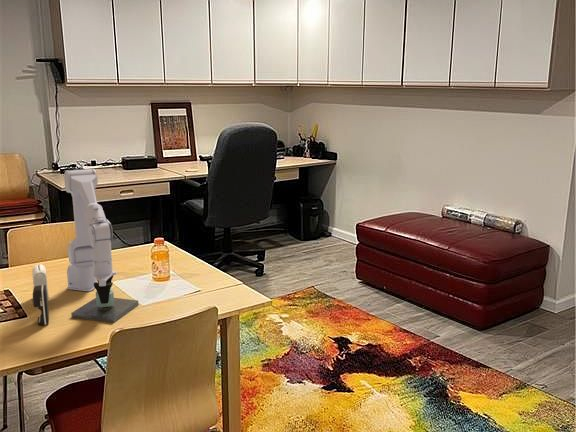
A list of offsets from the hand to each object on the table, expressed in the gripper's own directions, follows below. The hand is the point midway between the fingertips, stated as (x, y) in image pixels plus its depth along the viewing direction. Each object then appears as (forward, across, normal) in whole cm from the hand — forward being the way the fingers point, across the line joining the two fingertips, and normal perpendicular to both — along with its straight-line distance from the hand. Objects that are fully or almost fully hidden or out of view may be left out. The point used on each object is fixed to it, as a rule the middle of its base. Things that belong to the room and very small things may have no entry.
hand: (105, 299), depth 177 cm
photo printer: (+4, +15, +22) cm, 26 cm away
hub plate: (+4, 0, 0) cm, 4 cm away
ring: (+1, 0, 0) cm, 1 cm away
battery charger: (+4, -4, +19) cm, 20 cm away
